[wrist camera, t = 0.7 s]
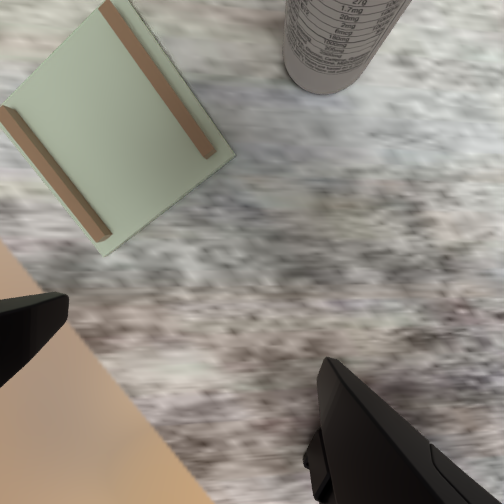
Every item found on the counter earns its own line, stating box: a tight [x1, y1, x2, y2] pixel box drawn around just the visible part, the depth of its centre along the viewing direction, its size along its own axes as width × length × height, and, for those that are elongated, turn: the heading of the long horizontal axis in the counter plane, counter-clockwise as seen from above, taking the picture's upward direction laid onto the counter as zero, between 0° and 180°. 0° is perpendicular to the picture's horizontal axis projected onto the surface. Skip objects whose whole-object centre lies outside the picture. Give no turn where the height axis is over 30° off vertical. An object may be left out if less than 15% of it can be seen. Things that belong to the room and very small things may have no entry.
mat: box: [0, 0, 236, 257], centre depth 19 cm, size 14×14×2 cm
